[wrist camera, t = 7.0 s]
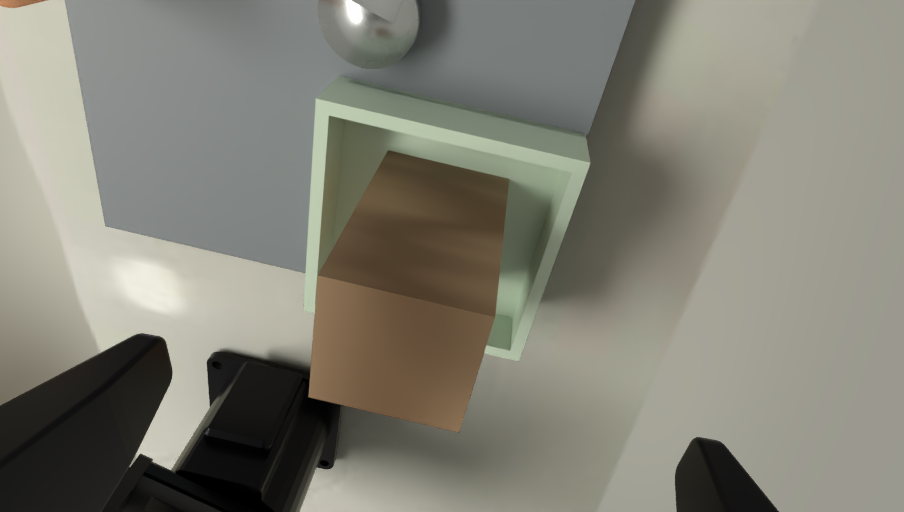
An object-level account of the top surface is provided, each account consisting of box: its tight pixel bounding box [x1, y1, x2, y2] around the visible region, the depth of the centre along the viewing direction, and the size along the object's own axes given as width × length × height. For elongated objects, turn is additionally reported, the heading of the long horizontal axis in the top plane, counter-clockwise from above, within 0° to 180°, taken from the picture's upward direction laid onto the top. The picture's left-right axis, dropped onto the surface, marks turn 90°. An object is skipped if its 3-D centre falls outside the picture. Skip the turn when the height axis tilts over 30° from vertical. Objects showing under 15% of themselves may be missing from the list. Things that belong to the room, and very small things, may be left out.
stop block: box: [308, 150, 509, 433], centre depth 17 cm, size 4×4×7 cm
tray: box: [303, 76, 591, 361], centre depth 19 cm, size 8×8×2 cm
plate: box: [0, 0, 635, 273], centre depth 15 cm, size 20×16×5 cm
